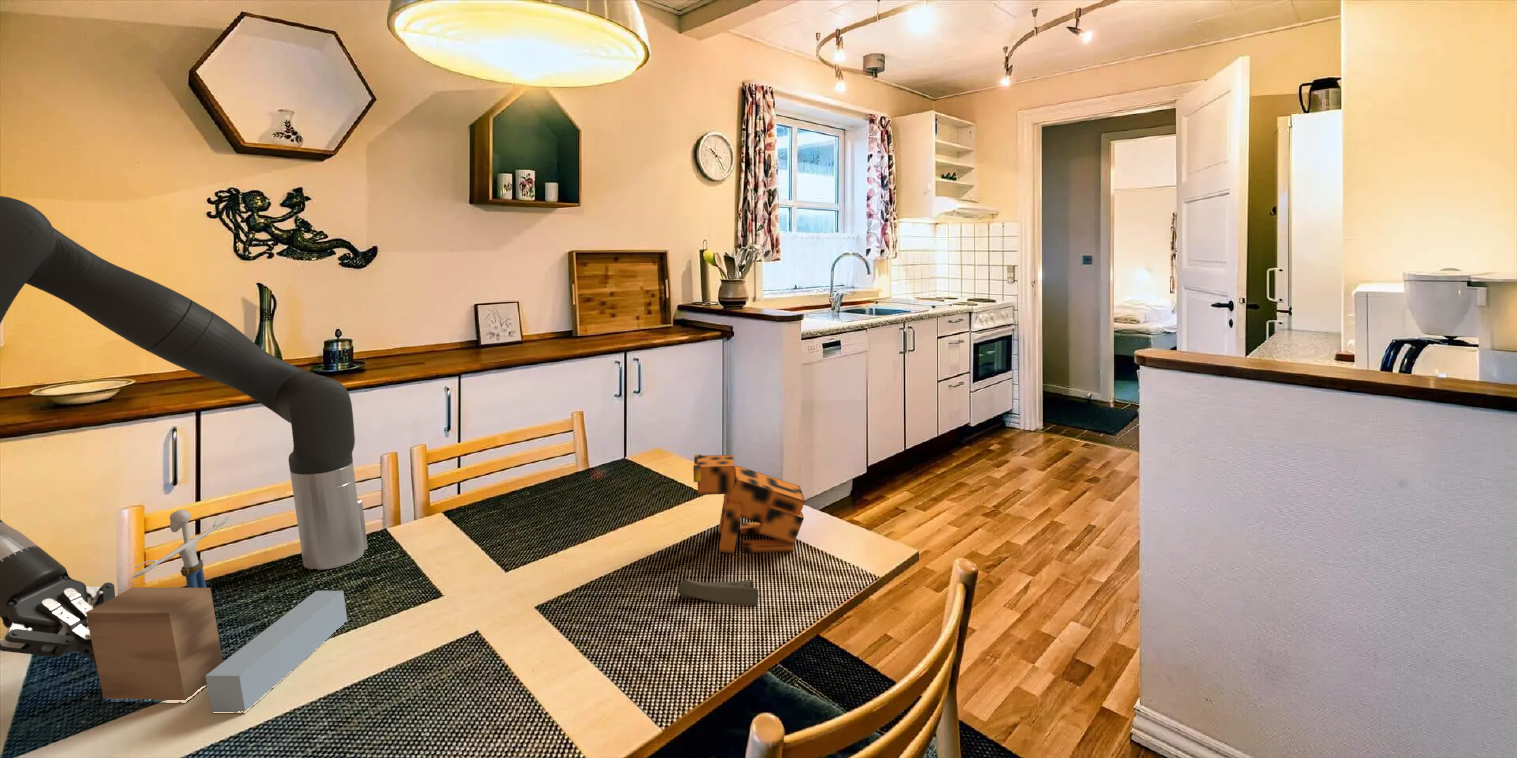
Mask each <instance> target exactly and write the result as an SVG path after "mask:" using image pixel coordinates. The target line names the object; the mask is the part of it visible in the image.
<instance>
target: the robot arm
mask: <svg viewBox="0 0 1517 758" xmlns="http://www.w3.org/2000/svg"><path fill="white" fill-rule="evenodd" d="M25 284H26V285H28V286H31V287H33V288H36V289H38V290H40V291H43V292H44V293H47V294H49V295H51V296H53V297H56V298H57V299H59V300H61V301H63V302H65V303H66V304H69V305H71V306H72V307H74V308H75V309H77V310H78V311H80V312H82V313H83V314H85V315H86V316H87V317H89V318H91V319H92V320H94V322H95V321H96V322H97V323H98V324H100V325H102V327H105V328H106V329H108V330H109V331H111V332H113V333H114V334H116V335H118V336H119V337H122V338H123V339H125V340H126V341H128V342H130V343H132V344H133V345H135V346H136V347H138V348H141V349H143V350H145V351H147V352H149V353H151V354H153V355H154V356H157V357H158V358H161V359H162V360H165V361H166V362H169V363H171V364H173V365H175V366H177V367H180V368H182V369H184V370H187V371H189V372H191V373H194V374H196V375H198V376H201V377H203V378H206V379H209V380H212V381H214V382H217V383H221V384H223V385H226V386H228V387H230V388H234V390H237V391H239V392H241V393H243V394H245V395H246V396H247V397H250V398H251V399H253V400H254V401H256V402H258V403H259V404H261V405H263V407H265V408H267V409H269V410H270V411H272V412H273V413H275V414H276V415H278V416H279V417H280V418H281V419H282V420H284V421H286V422H288V423H290V425H291V434H292V445H293V450H292V452H291V453H290V454H289V456H288V466H289V473H290V480H291V487H292V494H293V501H294V507H295V508H294V509H295V515H296V522H297V529H298V535H299V536H298V537H299V543H300V551H301V557H302V558H301V559H302V565H303V567H304V568H306V569H308V570H313V569H317V571H321V570H322V571H323V570H329V569H335V568H340V567H342V566H346V565H348V564H351V563H353V562H355V561H357V560H358V559H360V558H362V556H363V555H364V554H365V550H368V549H369V546H368V540H367V539H368V537H367V531H366V529H367V528H366V521H365V513H364V507H363V506H364V505H363V500H362V499H360V498H358V493H357V483H356V477H355V468H354V461H353V460H354V459H353V452H354V449H355V445H356V444H355V442H356V437H355V424H354V411H353V405H352V400H351V396H350V393H349V392H348V389H347V388H346V386H345V385H343V384H342V382H340V381H338V380H337V379H334V378H331V377H327V376H324V375H320V374H316V373H314V372H310V371H307V370H305V369H303V368H300V367H297V366H295V365H293V364H291V363H289V362H287V361H284V360H283V359H281V358H278V357H276V356H274V355H273V354H271V353H269V352H267V351H266V350H264V349H263V348H261V347H260V346H258V345H257V344H256V343H255V342H254V341H252V340H251V339H250V338H249V337H248V336H247V335H245V334H244V333H243V332H242V331H240V330H239V329H238V328H236V327H235V326H234V325H233V324H231V323H230V322H229V321H227V320H226V319H224V318H223V317H221V316H219V314H216V313H215V312H213V311H212V310H210V309H208V308H206V307H205V306H203V305H201V304H199V303H197V302H196V301H194V300H192V299H191V298H189V297H187V296H185V295H183V294H181V293H180V292H177V291H176V290H174V289H172V288H169V287H167V286H165V285H163V284H161V283H159V282H156V281H154V280H152V279H150V278H147V277H144V276H143V275H140V274H138V273H135V272H134V271H130V270H129V269H126V268H123V267H121V266H118V265H116V264H114V263H112V262H110V261H108V260H106V259H105V258H102V257H101V256H98V255H97V254H95V253H93V252H91V251H90V250H88V249H87V248H85V247H84V246H82V245H81V244H79V243H78V242H76V241H74V240H72V239H71V238H69V237H68V236H67V235H65V234H63V233H62V232H60V230H58V229H56V228H55V227H53V225H52V223H51V221H50V220H49V219H48V218H47V217H46V215H45V214H44V213H43V212H41V211H40V210H39V209H37V208H36V207H35V206H33V205H32V204H30V203H27V202H26V201H23V200H20V199H16V198H13V197H8V196H4V195H0V325H1V324H2V322H3V320H4V318H5V316H6V315H7V312H8V311H9V309H10V307H11V306H12V304H13V302H14V301H15V299H16V297H17V296H18V294H19V293H20V292H21V290H22V289H23V287H24V286H25ZM114 597H116V589H115V584H114V583H112V582H105V583H103V584H102V585H101V586H86V584H85V583H84V582H82V581H80V580H78V579H77V580H76V579H73V578H71V577H70V575H69V574H68V571H67V568H66V567H65V566H64V565H63V564H61V563H60V562H59V561H57V560H56V559H55V558H54V557H53V556H51V555H50V554H49V553H48V552H46V551H45V550H44V549H42V548H41V547H40V546H39V545H38V544H37V543H35V542H34V541H32V540H31V539H30V538H29V537H28V536H26V535H25V534H23V533H22V532H21V531H19V530H17V529H15V528H14V527H12V526H11V525H9V524H7V523H6V522H4V521H3V520H2V519H0V618H1V620H2V624H3V626H4V627H5V628H7V631H6V632H5V635H4V637H3V638H2V639H1V641H0V652H7V653H15V654H16V653H17V654H25V655H35V656H44V657H54V658H59V657H62V656H64V655H65V654H68V653H72V652H74V653H81V654H82V655H83V656H84V657H85V658H86V659H88V660H89V661H91V662H92V663H93V664H94V665H96V660H95V656H94V651H93V646H92V641H91V637H90V632H89V627H88V622H87V617H86V612H87V611H89V610H91V609H93V608H95V607H97V606H99V605H101V604H103V603H104V602H106V601H108V600H110V599H112V598H114Z"/></svg>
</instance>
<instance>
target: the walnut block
mask: <svg viewBox="0 0 1517 758" xmlns="http://www.w3.org/2000/svg"><path fill="white" fill-rule="evenodd" d="M214 606H215V605H214V600H213V596H212V590H211V587H206V588H187V587H131V588H129V589H127V590H125V591H123V592H121V593H119V594H117V595H115V597H114V598H112V599H110V600H108V601H106V602H104V603H103V604H101V605H99V606H97V607H95V608H93V607H92V608H93V609H91V610H89V611H87V612H86V617H87V622H88V627H89V632H90V637H91V641H92V646H93V651H94V656H95V660H96V664H95V665H96V669H97V673H98V678H99V683H100V688H101V694H102V698H103V699H104V698H105V699H106V698H107V699H110V698H111V699H121V698H122V699H127V698H129V699H139V700H140V699H141V700H143V699H156V700H157V699H158V700H186V699H187V698H188V697H190V696H192V695H193V694H194V693H195V692H196V691H197V690H198V689H200V688H201V687H202V686H204V685H205V684H206V683H207V682H206V677H205V676H206V675H207V674H208V673H209V672H211V671H212V670H213V669H215V668H216V667H217V666H219V665H220V664H221V663H223V662H224V659H223V654H222V653H223V652H222V648H221V641H220V636H219V635H220V634H219V631H218V625H217V620H216V619H217V618H216V614H215V613H216V612H215V607H214Z"/></svg>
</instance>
